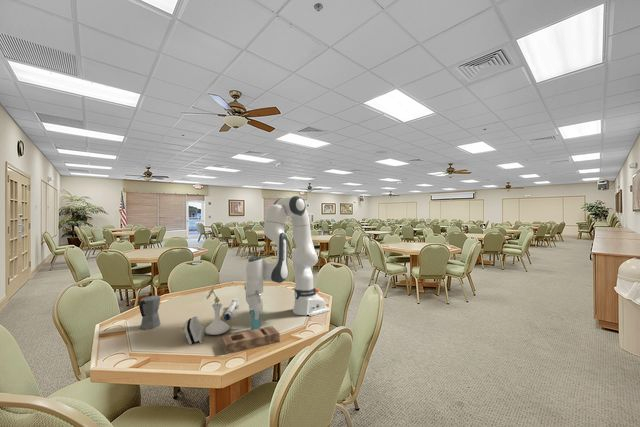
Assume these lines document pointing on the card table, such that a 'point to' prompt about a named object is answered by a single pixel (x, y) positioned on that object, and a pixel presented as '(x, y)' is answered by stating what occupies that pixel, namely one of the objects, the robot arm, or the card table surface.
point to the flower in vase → (216, 318)
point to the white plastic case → (194, 330)
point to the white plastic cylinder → (231, 309)
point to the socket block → (250, 339)
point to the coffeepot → (150, 312)
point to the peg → (254, 321)
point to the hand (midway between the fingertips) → (253, 316)
